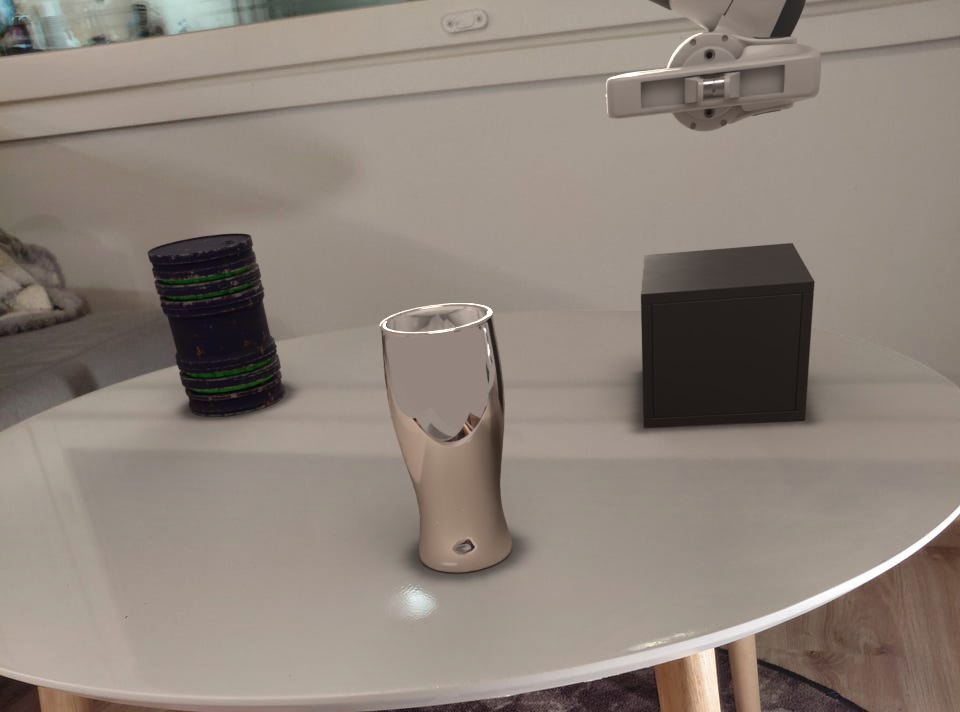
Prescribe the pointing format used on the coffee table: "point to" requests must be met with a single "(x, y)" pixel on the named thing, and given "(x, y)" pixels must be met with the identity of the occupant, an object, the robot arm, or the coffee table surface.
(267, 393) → the storage jar
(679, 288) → the cabinet
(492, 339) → the beer glass
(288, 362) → the coffee table surface
